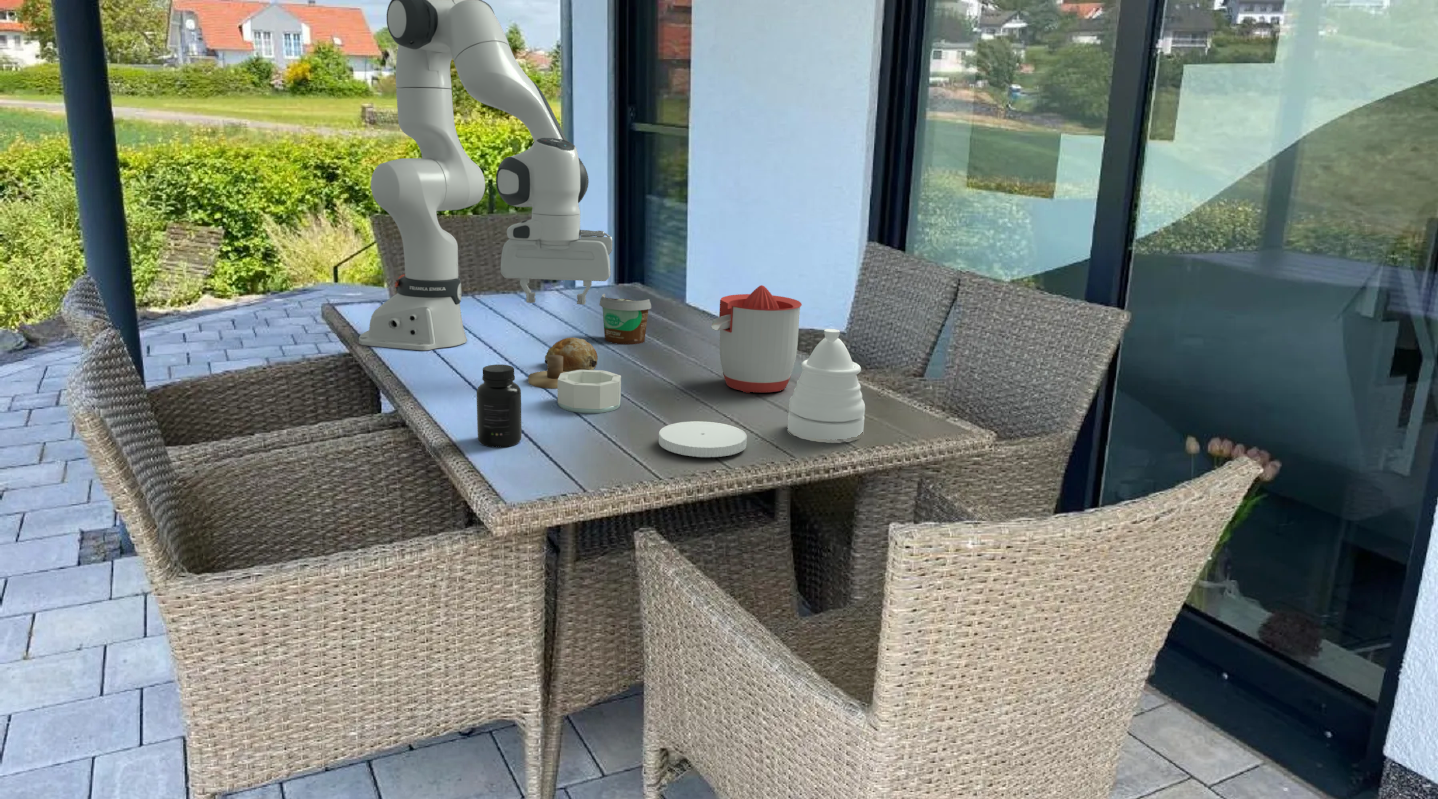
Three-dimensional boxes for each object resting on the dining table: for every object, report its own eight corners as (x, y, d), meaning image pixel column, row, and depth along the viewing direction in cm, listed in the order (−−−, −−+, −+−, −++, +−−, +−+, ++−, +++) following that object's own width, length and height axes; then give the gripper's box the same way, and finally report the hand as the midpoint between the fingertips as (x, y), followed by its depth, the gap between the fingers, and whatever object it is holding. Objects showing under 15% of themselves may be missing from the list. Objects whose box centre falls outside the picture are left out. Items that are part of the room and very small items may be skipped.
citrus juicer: (696, 379, 214) (700, 279, 208) (775, 375, 220) (781, 277, 215) (725, 400, 200) (731, 293, 194) (809, 395, 206) (817, 291, 201)
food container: (588, 341, 242) (589, 297, 239) (601, 336, 248) (602, 293, 245) (638, 348, 238) (639, 303, 235) (650, 343, 243) (651, 299, 241)
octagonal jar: (554, 412, 187) (554, 384, 186) (562, 395, 198) (562, 368, 196) (618, 414, 187) (618, 386, 186) (622, 397, 198) (622, 371, 197)
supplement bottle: (480, 434, 173) (479, 361, 170) (523, 435, 174) (523, 363, 170) (474, 447, 166) (473, 372, 163) (519, 448, 167) (519, 373, 164)
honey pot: (861, 446, 176) (870, 339, 171) (783, 439, 178) (790, 332, 173) (864, 425, 188) (873, 324, 184) (791, 418, 190) (798, 318, 186)
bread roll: (578, 392, 214) (595, 358, 212) (534, 366, 215) (550, 332, 212) (593, 380, 223) (610, 348, 221) (551, 355, 224) (567, 323, 221)
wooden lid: (525, 388, 202) (525, 361, 200) (531, 375, 211) (532, 349, 210) (578, 390, 202) (579, 363, 201) (583, 377, 212) (583, 352, 211)
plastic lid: (763, 455, 171) (764, 439, 170) (690, 468, 163) (690, 452, 162) (713, 431, 182) (713, 417, 181) (641, 443, 174) (642, 428, 173)
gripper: (613, 229, 202) (612, 302, 206) (504, 225, 202) (505, 298, 205) (611, 233, 196) (610, 308, 200) (498, 228, 196) (499, 304, 199)
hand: (556, 303), depth 202 cm, fingers open, 8 cm apart
